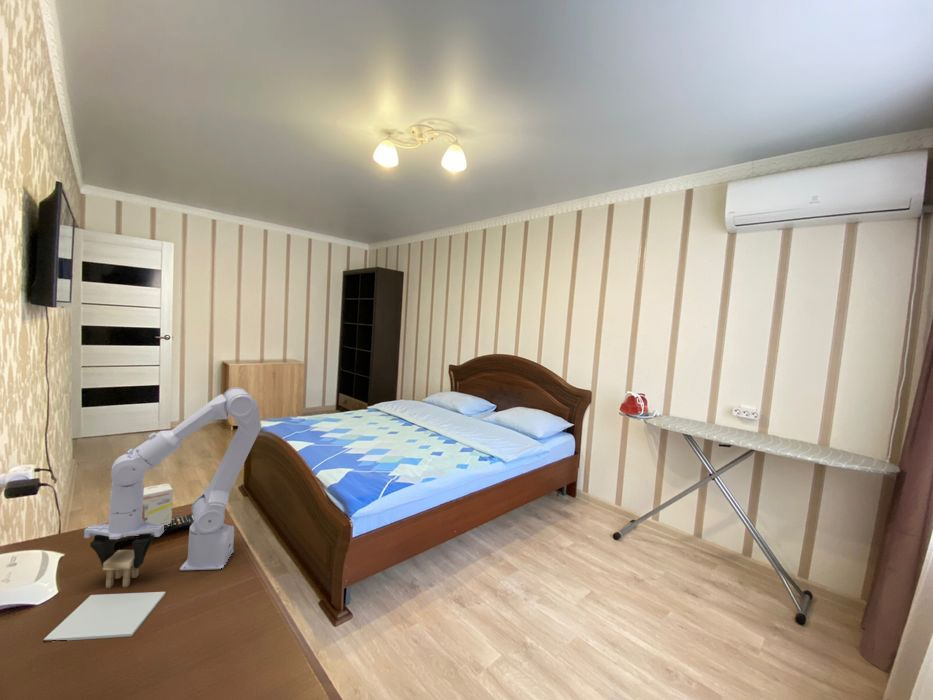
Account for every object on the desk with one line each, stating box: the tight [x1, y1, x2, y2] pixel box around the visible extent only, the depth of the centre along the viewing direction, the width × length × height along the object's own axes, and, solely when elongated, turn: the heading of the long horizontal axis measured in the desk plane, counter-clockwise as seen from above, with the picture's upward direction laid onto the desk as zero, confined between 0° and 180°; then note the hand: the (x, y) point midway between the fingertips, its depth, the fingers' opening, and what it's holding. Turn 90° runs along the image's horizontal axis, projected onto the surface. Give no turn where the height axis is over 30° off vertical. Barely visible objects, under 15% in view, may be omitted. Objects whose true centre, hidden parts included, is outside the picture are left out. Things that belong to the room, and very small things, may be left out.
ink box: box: [142, 483, 174, 525], centre depth 110 cm, size 9×5×12 cm, turn 141°
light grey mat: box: [43, 591, 167, 641], centre depth 79 cm, size 14×12×1 cm
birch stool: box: [102, 549, 140, 589], centre depth 89 cm, size 5×5×6 cm
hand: (123, 566), depth 89 cm, fingers open, 5 cm apart
